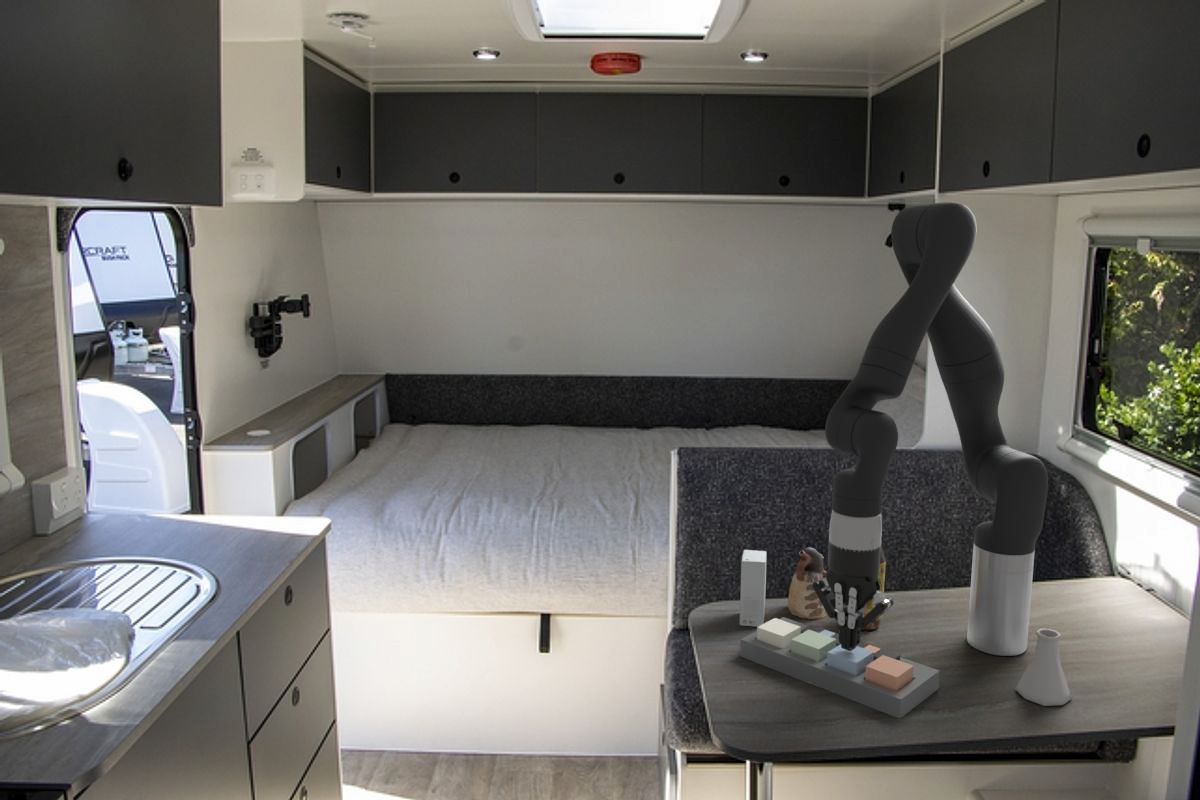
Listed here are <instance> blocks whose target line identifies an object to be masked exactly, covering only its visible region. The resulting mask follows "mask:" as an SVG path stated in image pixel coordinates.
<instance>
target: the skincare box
mask: <svg viewBox="0 0 1200 800" xmlns="http://www.w3.org/2000/svg"><path fill="white" fill-rule="evenodd" d="M766 580H767V551H765V550H751V549H744V550H743V552H742V556H741V565H740V599H739V600H740V601H739V625H740V626H743V627H747V626H748V627H756V628H757V627H758V626H760V625H762V624H764V623H765V622H764V621H765V613H766V612H765V611H766V610H765V608H766V589H767V588H766V587H767V585H766V584H767V581H766Z"/></svg>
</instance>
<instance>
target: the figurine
mask: <svg viewBox="0 0 1200 800" xmlns="http://www.w3.org/2000/svg"><path fill="white" fill-rule="evenodd" d="M798 554H799V557H800V559H799V561H798V562H797V564H796V569H795V572H794V574H793V576H792V579H791V583H790V587H789V591H788V592H789V593H788V598H787V599H788V600H787V608H788V610H789V612H791V614H792V615H793V616H795V617H797V616H798V618H801V619H806V618H807V619H806V620H817V619H818V620H819V619H822V618H825V617H826V616H827V615H828V614H827V612H826V611H825V609H824V607H823V605H822V603H821V601H820V600H819V598H818V596H817V594H816V592H815V590H814V588H813V586H812V584H813V583H814V582H816V581H818V580H820V579H822V578H824V576H826V573H827V571H826V570H824V569H825V568H824V559H825V557H824V556H823V554H821V553H820V552H819V551H817V549H815V548H813V547H810V546H809V547H805V548H804V549H803V550H800V551H799V552H798Z"/></svg>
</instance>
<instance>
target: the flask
mask: <svg viewBox="0 0 1200 800" xmlns="http://www.w3.org/2000/svg"><path fill="white" fill-rule="evenodd" d="M1035 635H1036V637H1037V641H1036V646H1035V650H1034V652H1033V656H1032V657H1031V659H1030V661H1029V663H1028V664H1027V667H1026V669H1025V671H1024V672H1023V674H1022V676H1021V678H1020V680H1019V681H1018V683H1017V685H1016V687H1015V689H1014V690H1015V691H1016V692H1018V694H1020V695H1021V696H1022V697H1023V699H1025V700H1028V701H1030V702H1033V703H1036V704H1038V705H1040V706H1044V707H1050V706H1052V707H1053V706H1064V705H1065V704H1066V703H1068V702H1069V701H1070V700H1072V695H1071V692H1070V689H1069V685H1068V684H1067V680H1066V676H1065V673H1064V671H1063V668H1062V667H1063V666H1062V664H1061V660H1060V653H1059V641H1060V639H1061V638H1062V635H1061V634H1060V632H1058V631H1057V630H1054V629H1050V628H1047V627H1046V628H1039V629H1037V630H1036V631H1035Z"/></svg>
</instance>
